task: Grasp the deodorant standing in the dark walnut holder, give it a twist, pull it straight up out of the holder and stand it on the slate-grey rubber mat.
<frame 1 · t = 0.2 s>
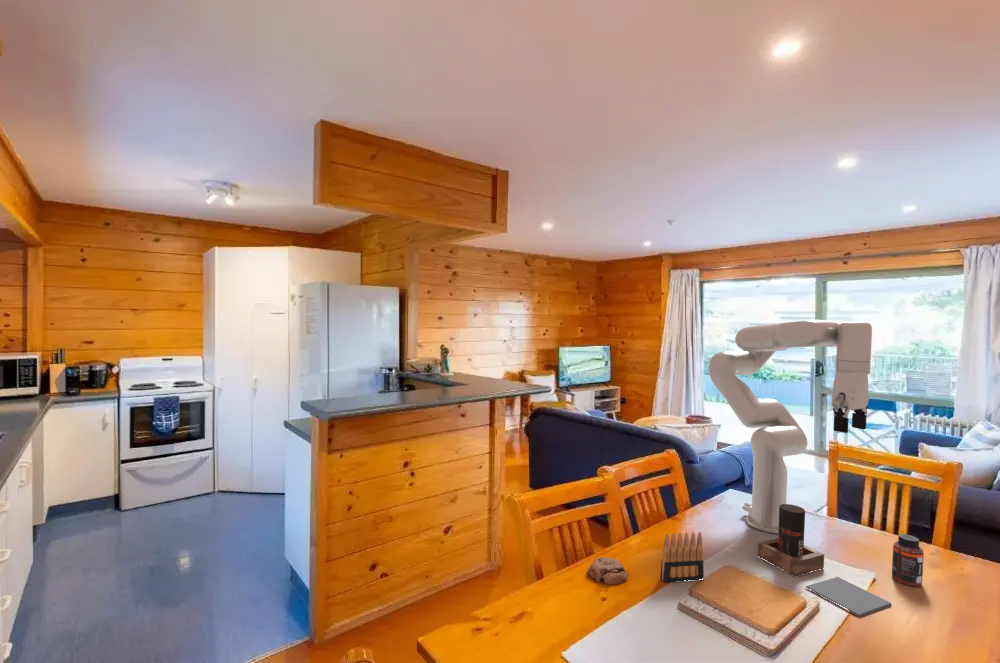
hand: (849, 430, 131), 36 cm above the table, tool pointing down, fingers open, 9 cm apart
ammunition clip: (681, 580, 121), on the table
holder: (789, 562, 130), on the table
supplement bottle: (906, 581, 123), on the table
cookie: (607, 575, 123), on the table
mat: (847, 596, 115), on the table
deodorant: (789, 563, 130), resting in holder
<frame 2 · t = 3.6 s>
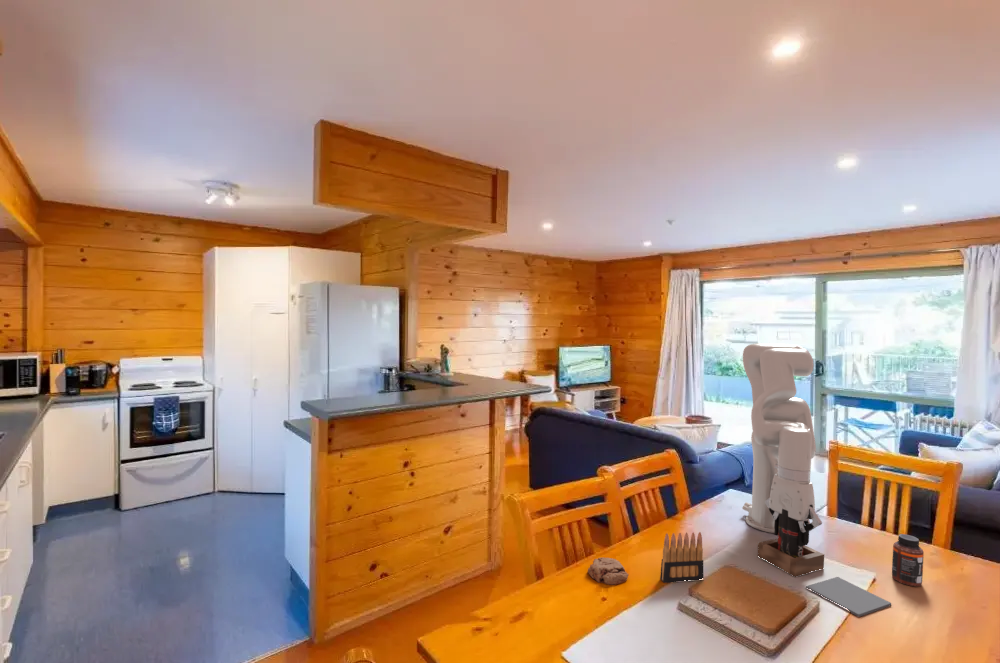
hand: (790, 538, 130), 7 cm above the table, tool pointing down, fingers closed on deodorant, 6 cm apart
deodorant: (789, 563, 130), resting in holder, touching gripper
everything else where it was.
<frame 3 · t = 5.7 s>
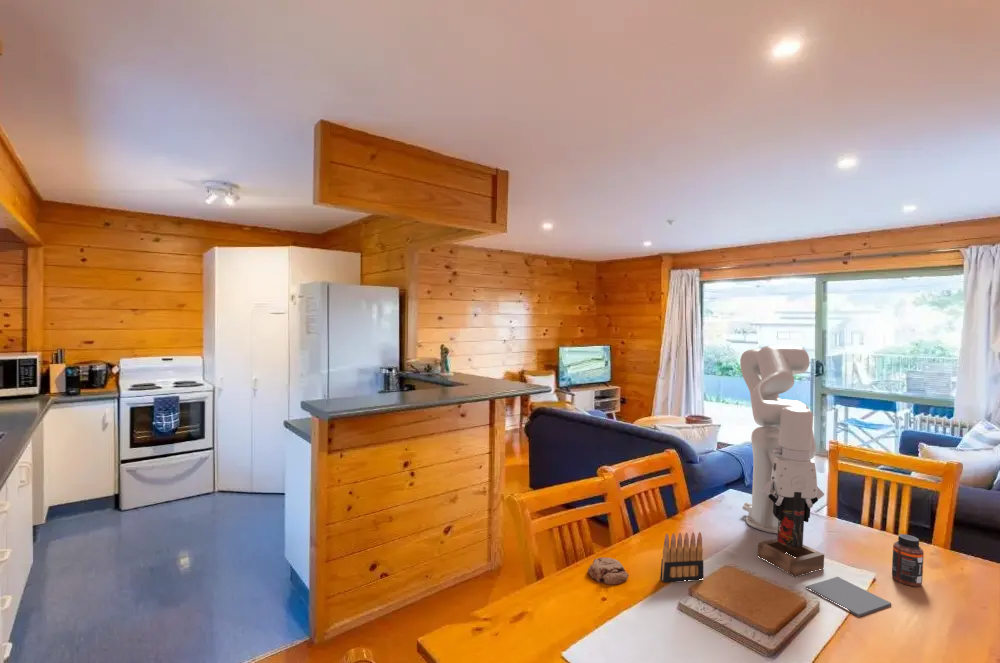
hand: (791, 518, 131), 12 cm above the table, tool pointing down, fingers closed on deodorant, 6 cm apart
deodorant: (789, 543, 131), point 5 cm above the table, touching gripper
everything else where it was.
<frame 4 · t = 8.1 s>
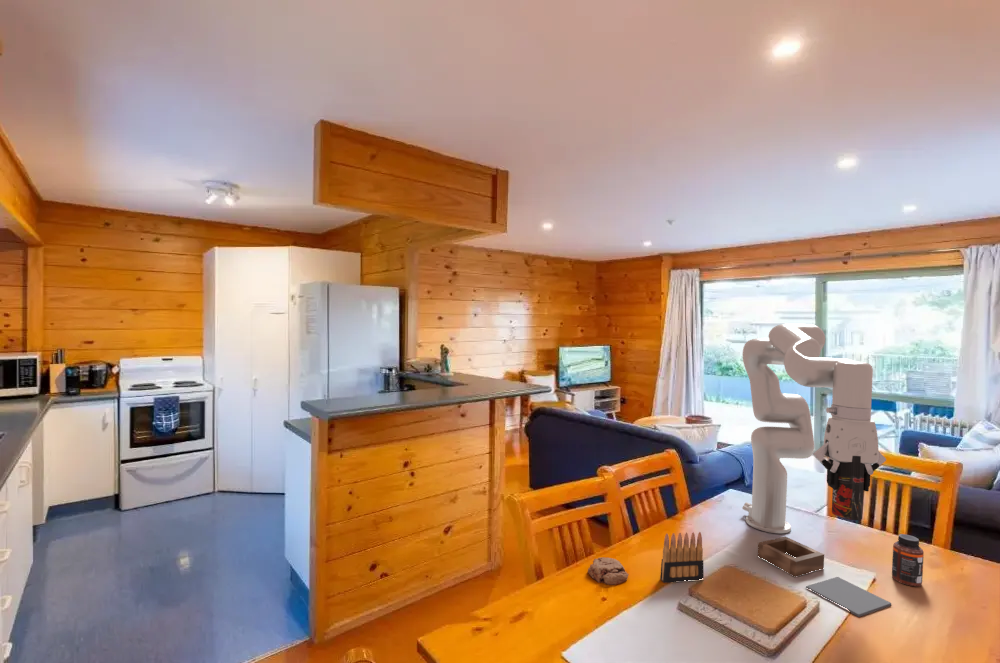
hand: (847, 487, 115), 26 cm above the table, tool pointing down, fingers closed on deodorant, 6 cm apart
deodorant: (846, 515, 115), point 19 cm above the table, touching gripper
everything else where it was.
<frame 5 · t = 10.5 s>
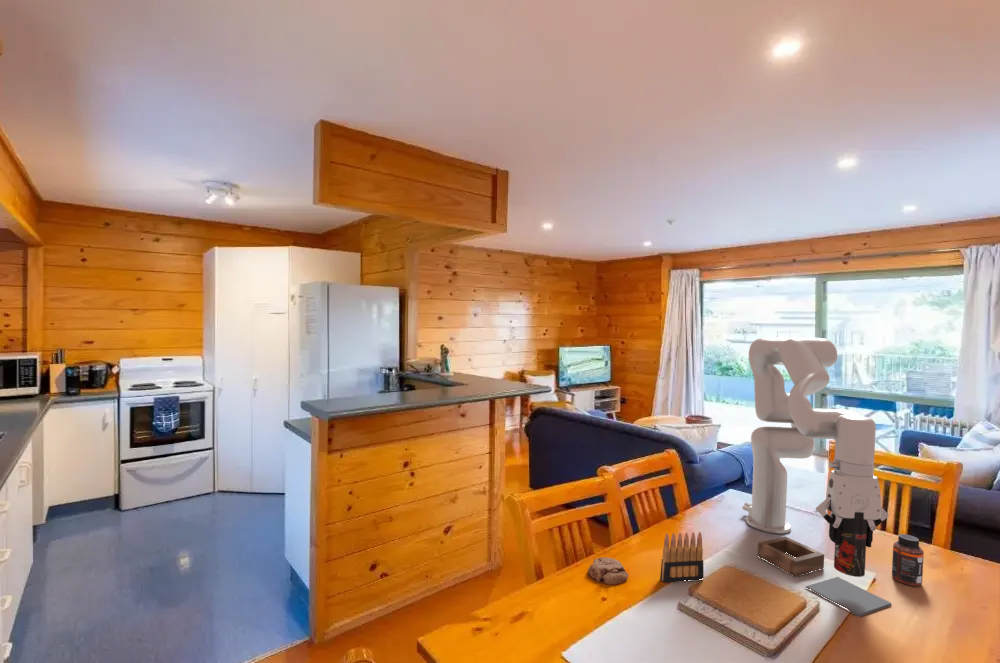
hand: (850, 542, 114), 13 cm above the table, tool pointing down, fingers closed on deodorant, 6 cm apart
deodorant: (849, 570, 114), point 6 cm above the table, touching gripper
everything else where it was.
when the fingers open (8 cm above the table, at t = 12.4 s): deodorant drops 1 cm, resting on mat.
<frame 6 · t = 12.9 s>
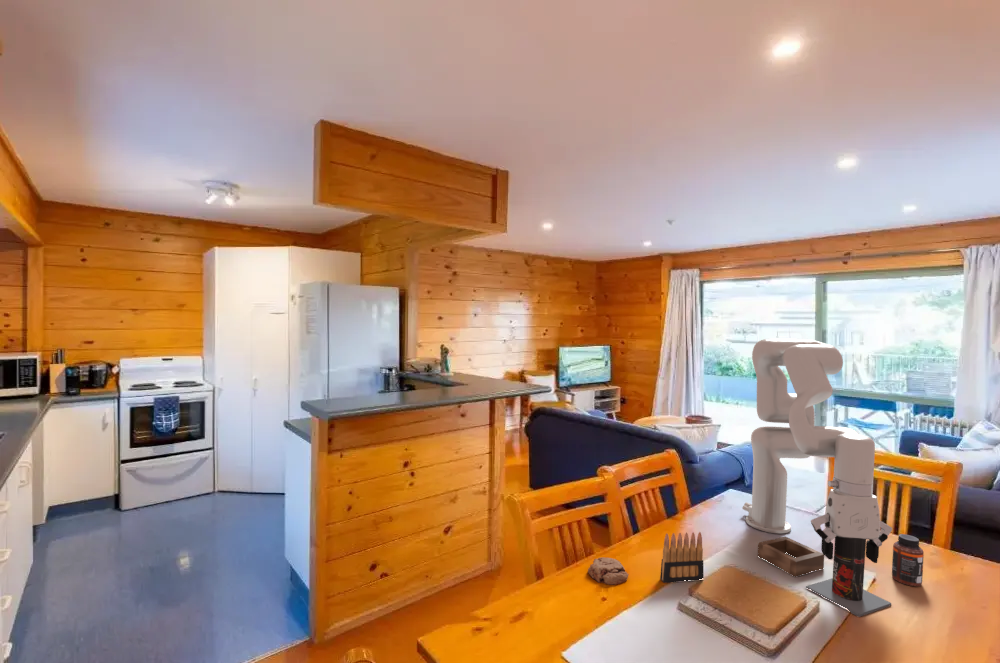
hand: (849, 558, 115), 9 cm above the table, tool pointing down, fingers open, 9 cm apart
deodorant: (846, 594, 115), resting on mat
everything else where it was.
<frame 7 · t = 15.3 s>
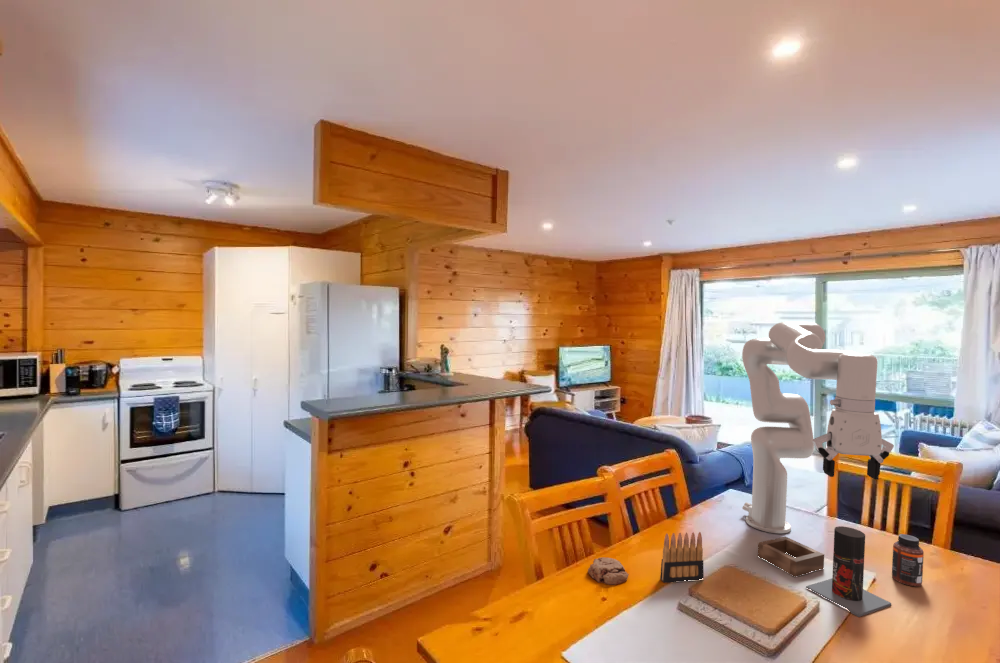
hand: (850, 476, 115), 29 cm above the table, tool pointing down, fingers open, 9 cm apart
nothing on the table moved.
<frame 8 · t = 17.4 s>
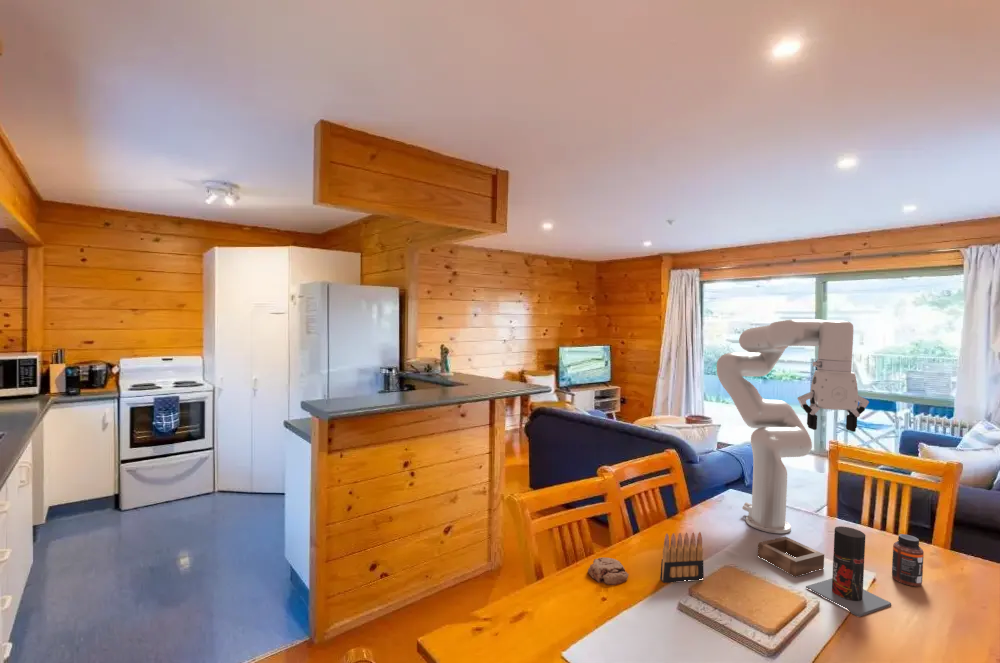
hand: (831, 429, 130), 36 cm above the table, tool pointing down, fingers open, 9 cm apart
nothing on the table moved.
at the end: deodorant inside the target area on the mat (0.2 cm from its centre), point 0.4 cm above the mat's base; deodorant tilted 0°; the gripper is holding nothing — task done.
